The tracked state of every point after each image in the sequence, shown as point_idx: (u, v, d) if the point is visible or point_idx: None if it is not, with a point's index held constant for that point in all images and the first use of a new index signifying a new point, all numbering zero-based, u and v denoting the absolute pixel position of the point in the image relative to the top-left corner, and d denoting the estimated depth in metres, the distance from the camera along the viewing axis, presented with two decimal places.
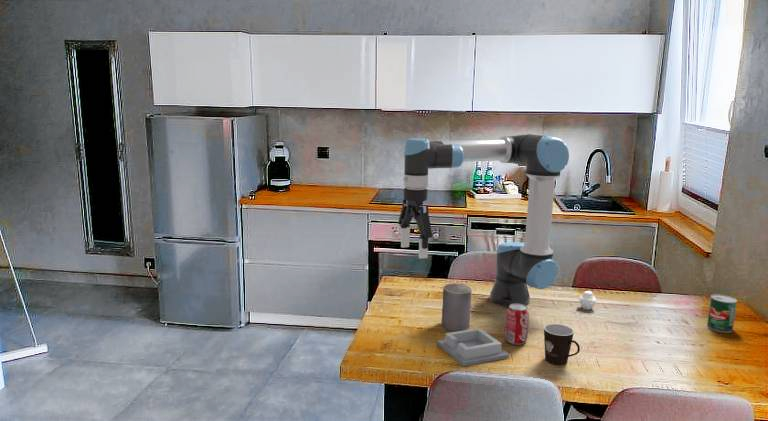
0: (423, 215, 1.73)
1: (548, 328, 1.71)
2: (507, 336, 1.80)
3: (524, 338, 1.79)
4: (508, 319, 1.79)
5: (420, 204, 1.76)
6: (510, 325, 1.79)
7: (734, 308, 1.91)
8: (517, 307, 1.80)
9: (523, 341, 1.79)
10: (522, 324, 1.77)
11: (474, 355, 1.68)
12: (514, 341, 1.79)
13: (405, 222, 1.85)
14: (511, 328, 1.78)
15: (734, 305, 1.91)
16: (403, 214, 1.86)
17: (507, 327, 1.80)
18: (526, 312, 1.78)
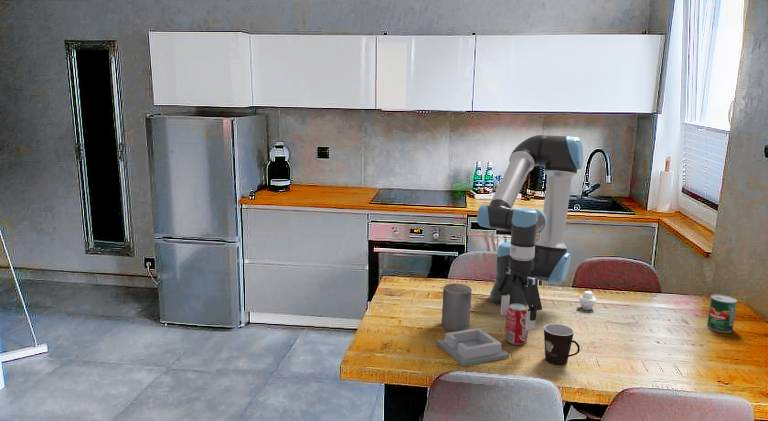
0: (532, 287, 1.71)
1: (548, 328, 1.71)
2: (507, 336, 1.80)
3: (524, 338, 1.79)
4: (508, 319, 1.79)
5: (527, 275, 1.74)
6: (510, 325, 1.79)
7: (734, 308, 1.91)
8: (517, 307, 1.80)
9: (523, 341, 1.79)
10: (522, 324, 1.77)
11: (474, 355, 1.68)
12: (514, 341, 1.79)
13: (506, 290, 1.84)
14: (511, 328, 1.78)
15: (734, 305, 1.91)
16: (504, 281, 1.85)
17: (507, 327, 1.80)
18: (526, 312, 1.78)
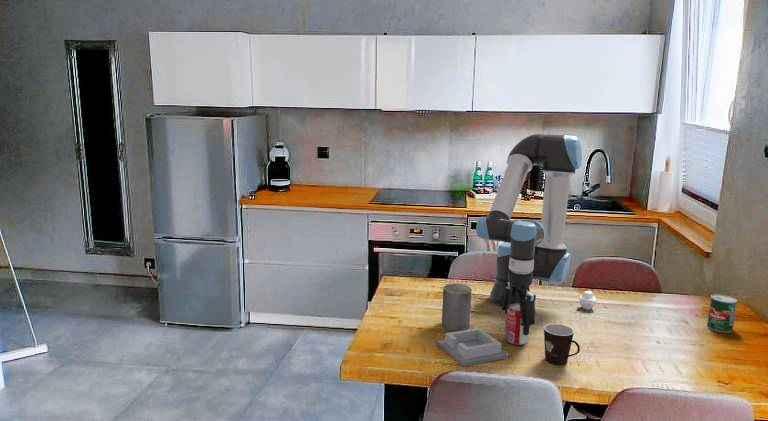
0: (529, 304, 1.73)
1: (548, 328, 1.71)
2: (507, 336, 1.80)
3: None
4: (508, 319, 1.79)
5: (527, 288, 1.75)
6: (510, 325, 1.79)
7: (734, 308, 1.91)
8: (517, 307, 1.80)
9: None
10: None
11: (474, 355, 1.68)
12: (514, 341, 1.79)
13: None
14: (511, 328, 1.78)
15: (734, 305, 1.91)
16: (506, 298, 1.84)
17: (507, 327, 1.80)
18: None
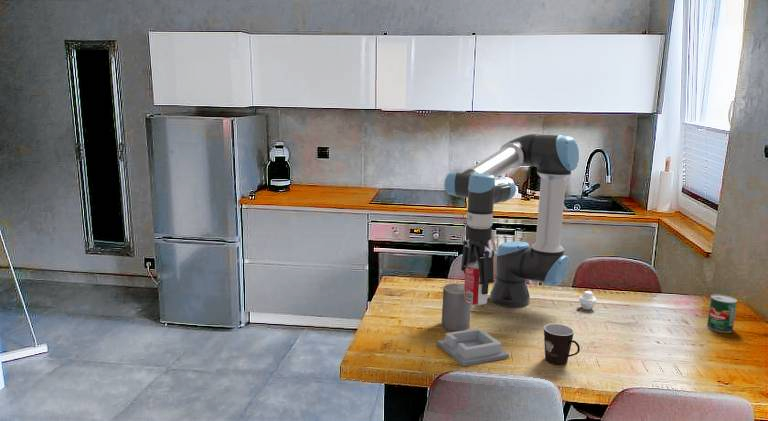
0: (488, 260, 1.63)
1: (548, 328, 1.71)
2: (465, 296, 1.70)
3: None
4: (466, 278, 1.69)
5: (485, 244, 1.65)
6: (468, 285, 1.68)
7: (734, 308, 1.91)
8: (476, 265, 1.69)
9: None
10: None
11: (474, 355, 1.68)
12: (472, 301, 1.68)
13: None
14: (470, 287, 1.68)
15: (734, 305, 1.91)
16: (465, 257, 1.74)
17: (465, 287, 1.69)
18: None
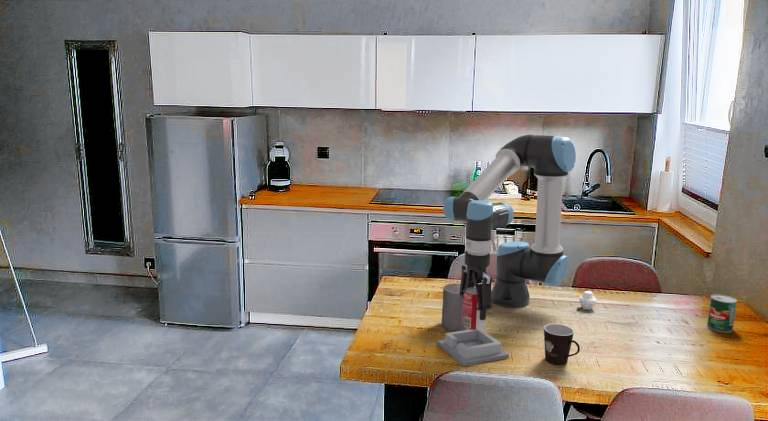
0: (486, 286, 1.64)
1: (548, 328, 1.71)
2: (464, 321, 1.71)
3: None
4: (464, 303, 1.70)
5: (483, 270, 1.66)
6: (466, 310, 1.70)
7: (734, 308, 1.91)
8: (474, 291, 1.71)
9: None
10: None
11: (474, 355, 1.68)
12: (471, 326, 1.70)
13: None
14: (468, 312, 1.69)
15: (734, 305, 1.91)
16: (464, 282, 1.75)
17: (464, 312, 1.71)
18: None
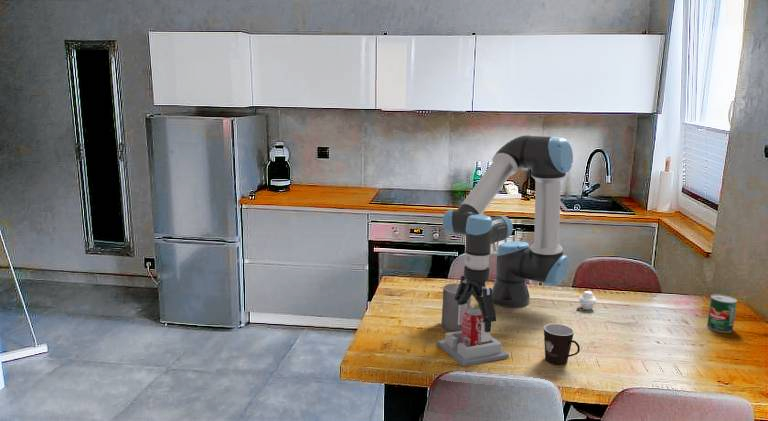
0: (487, 298, 1.64)
1: (548, 328, 1.71)
2: (463, 342, 1.73)
3: (480, 344, 1.71)
4: (464, 324, 1.72)
5: (482, 285, 1.67)
6: (465, 331, 1.71)
7: (734, 308, 1.91)
8: (473, 311, 1.72)
9: None
10: (477, 329, 1.70)
11: (474, 355, 1.68)
12: None
13: (463, 299, 1.77)
14: (467, 333, 1.71)
15: (734, 305, 1.91)
16: (461, 290, 1.78)
17: (463, 332, 1.72)
18: (482, 317, 1.70)
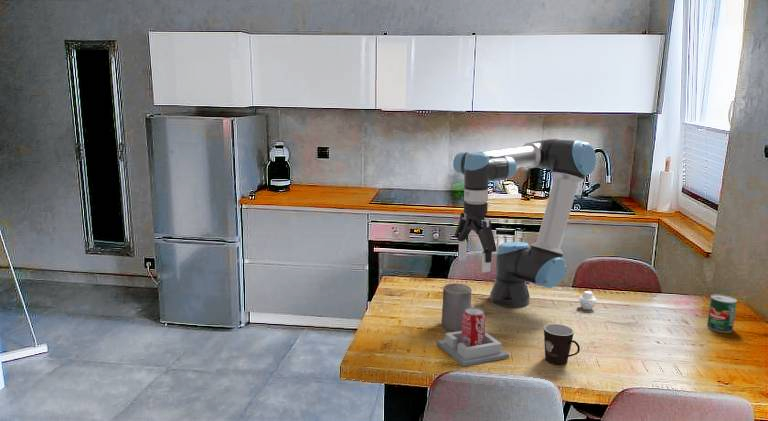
0: (486, 229, 1.73)
1: (548, 328, 1.71)
2: (463, 342, 1.73)
3: (480, 344, 1.71)
4: (463, 324, 1.72)
5: (482, 218, 1.76)
6: (465, 331, 1.71)
7: (734, 308, 1.91)
8: (473, 311, 1.72)
9: None
10: (477, 329, 1.70)
11: (474, 355, 1.68)
12: None
13: (463, 235, 1.86)
14: (467, 333, 1.71)
15: (734, 305, 1.91)
16: (460, 227, 1.87)
17: (463, 332, 1.72)
18: (482, 317, 1.70)
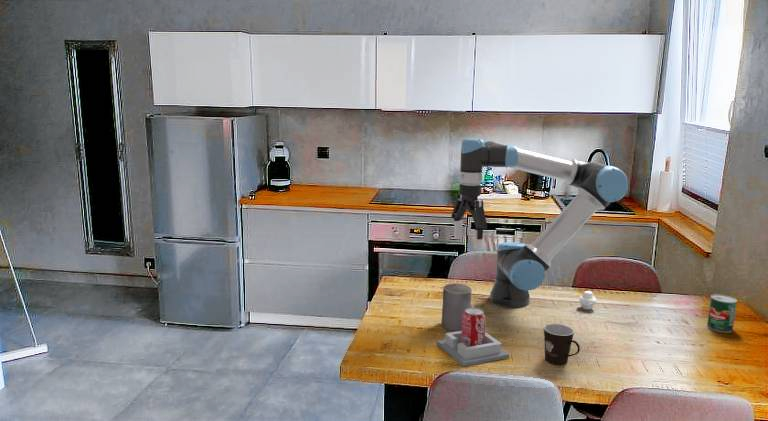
0: (479, 209, 1.89)
1: (548, 328, 1.71)
2: (463, 342, 1.73)
3: (480, 344, 1.71)
4: (463, 324, 1.72)
5: (475, 199, 1.92)
6: (465, 331, 1.71)
7: (734, 308, 1.91)
8: (473, 311, 1.72)
9: None
10: (477, 329, 1.70)
11: (474, 355, 1.68)
12: None
13: (458, 215, 2.02)
14: (467, 333, 1.71)
15: (734, 305, 1.91)
16: (456, 208, 2.03)
17: (463, 332, 1.72)
18: (482, 317, 1.70)
